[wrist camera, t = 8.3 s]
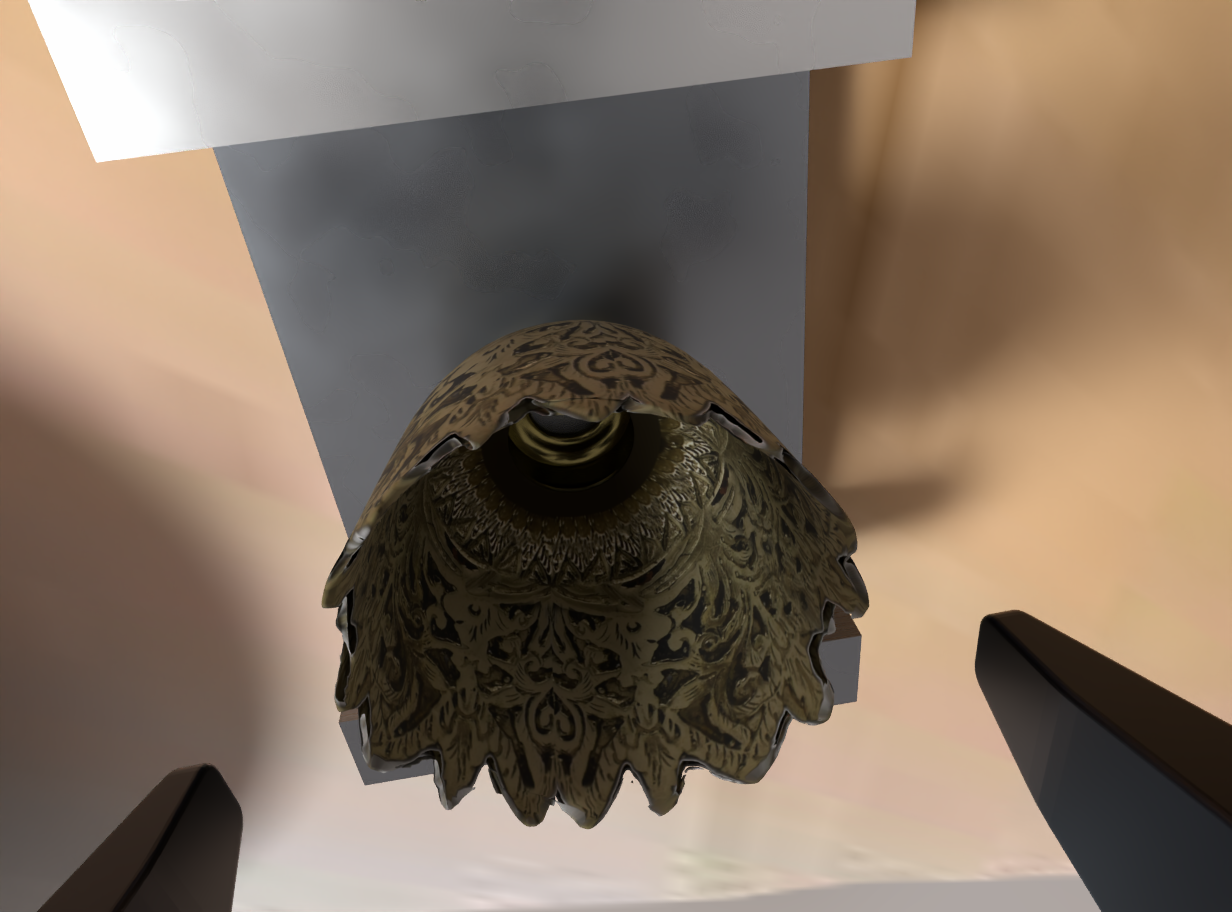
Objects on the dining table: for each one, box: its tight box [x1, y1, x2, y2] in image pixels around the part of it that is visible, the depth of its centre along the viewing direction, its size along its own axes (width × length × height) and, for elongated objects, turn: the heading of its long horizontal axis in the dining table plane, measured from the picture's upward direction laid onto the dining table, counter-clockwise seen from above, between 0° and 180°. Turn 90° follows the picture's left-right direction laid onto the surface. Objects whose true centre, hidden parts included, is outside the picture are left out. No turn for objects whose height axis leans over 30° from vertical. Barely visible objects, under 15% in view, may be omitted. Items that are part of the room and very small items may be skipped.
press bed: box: [213, 70, 862, 785], centre depth 16 cm, size 11×15×6 cm
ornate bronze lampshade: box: [322, 320, 869, 829], centre depth 14 cm, size 8×7×8 cm
